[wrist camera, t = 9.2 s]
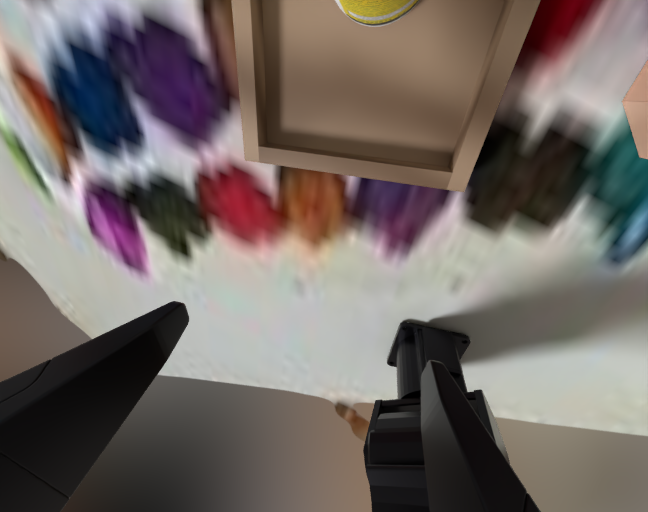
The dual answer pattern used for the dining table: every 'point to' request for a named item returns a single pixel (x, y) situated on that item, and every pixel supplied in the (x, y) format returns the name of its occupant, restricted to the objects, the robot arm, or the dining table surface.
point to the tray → (375, 86)
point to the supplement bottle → (376, 10)
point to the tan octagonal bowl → (638, 111)
